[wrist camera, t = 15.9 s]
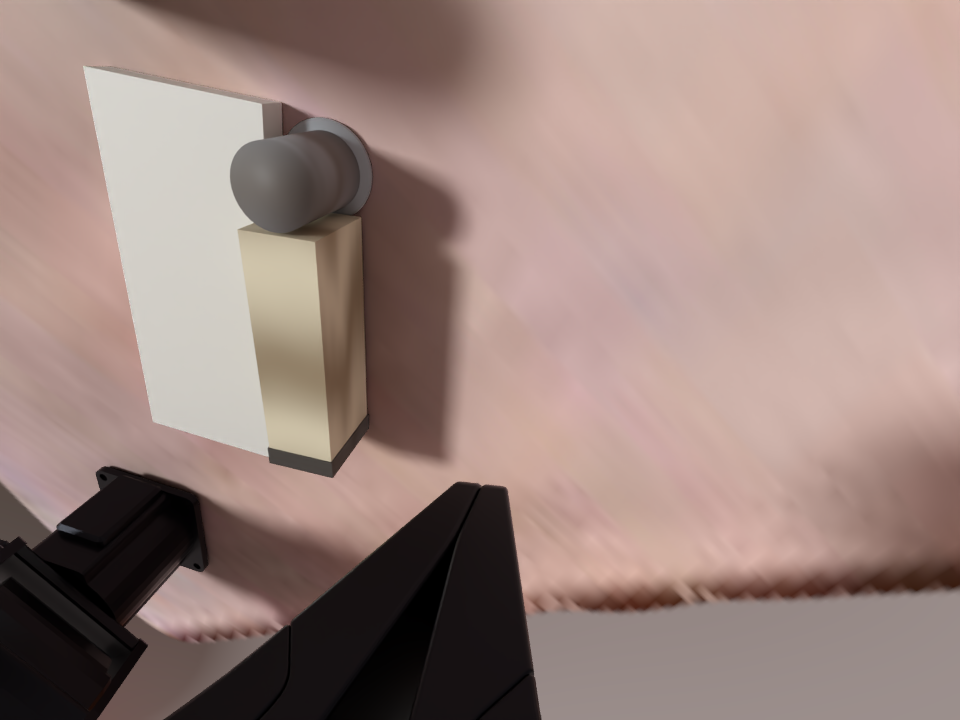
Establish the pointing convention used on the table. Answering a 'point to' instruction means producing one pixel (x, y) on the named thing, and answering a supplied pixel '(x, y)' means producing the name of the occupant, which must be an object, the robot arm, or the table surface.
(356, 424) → the leg
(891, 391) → the table surface
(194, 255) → the board
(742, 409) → the table surface
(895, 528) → the table surface
